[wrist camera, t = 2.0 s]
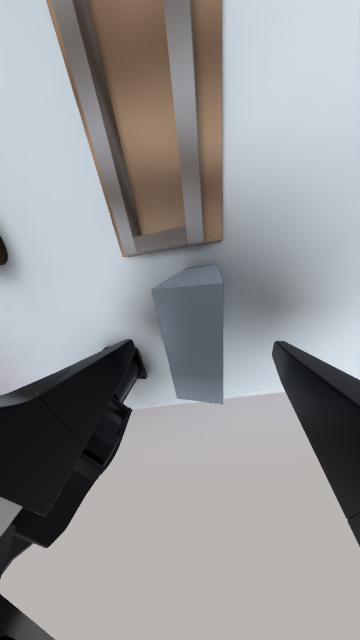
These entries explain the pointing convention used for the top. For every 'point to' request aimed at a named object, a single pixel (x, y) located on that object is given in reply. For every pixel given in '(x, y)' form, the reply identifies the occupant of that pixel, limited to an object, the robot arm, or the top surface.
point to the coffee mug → (3, 253)
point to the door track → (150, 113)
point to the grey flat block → (193, 331)
